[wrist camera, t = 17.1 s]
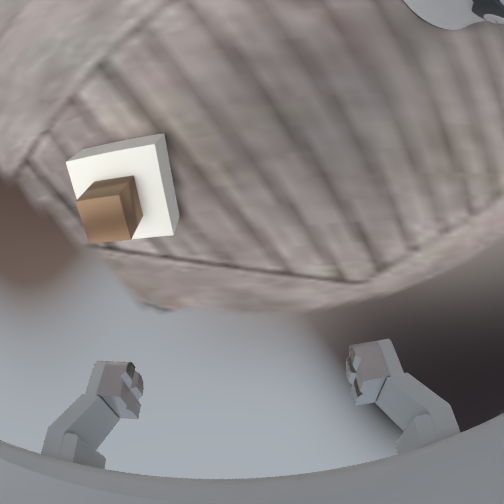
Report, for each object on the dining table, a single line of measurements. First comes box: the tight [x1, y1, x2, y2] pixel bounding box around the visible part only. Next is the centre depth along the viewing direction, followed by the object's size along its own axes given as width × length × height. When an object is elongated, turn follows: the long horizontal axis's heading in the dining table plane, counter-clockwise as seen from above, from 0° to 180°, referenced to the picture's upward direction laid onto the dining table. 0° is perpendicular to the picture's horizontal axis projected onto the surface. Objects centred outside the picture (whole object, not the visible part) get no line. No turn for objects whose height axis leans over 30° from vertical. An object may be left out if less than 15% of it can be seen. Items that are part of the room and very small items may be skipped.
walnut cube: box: [76, 175, 143, 243], centre depth 31 cm, size 5×5×5 cm
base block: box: [66, 133, 180, 239], centre depth 35 cm, size 11×11×5 cm
